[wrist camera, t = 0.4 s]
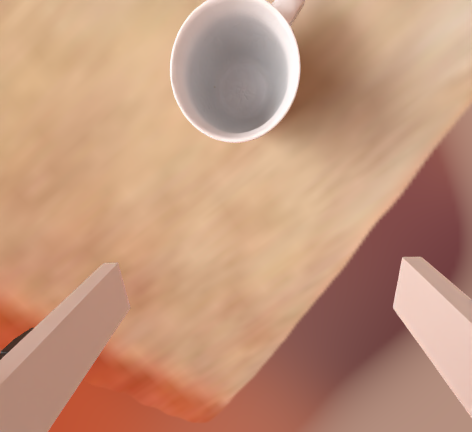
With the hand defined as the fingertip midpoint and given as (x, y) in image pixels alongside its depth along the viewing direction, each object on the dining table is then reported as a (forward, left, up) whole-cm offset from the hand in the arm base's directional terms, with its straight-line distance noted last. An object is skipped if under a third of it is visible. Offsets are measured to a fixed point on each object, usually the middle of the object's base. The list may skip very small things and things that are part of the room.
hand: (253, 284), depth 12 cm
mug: (-12, -1, -27) cm, 29 cm away
